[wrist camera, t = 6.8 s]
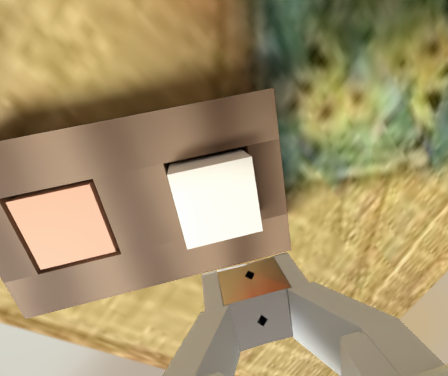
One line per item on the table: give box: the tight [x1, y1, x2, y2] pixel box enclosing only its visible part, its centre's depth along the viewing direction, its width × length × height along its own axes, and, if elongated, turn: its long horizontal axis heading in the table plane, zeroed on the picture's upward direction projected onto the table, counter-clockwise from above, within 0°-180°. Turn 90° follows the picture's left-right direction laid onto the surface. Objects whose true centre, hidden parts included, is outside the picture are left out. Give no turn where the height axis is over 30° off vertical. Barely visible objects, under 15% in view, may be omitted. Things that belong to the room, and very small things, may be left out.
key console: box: [0, 88, 291, 319], centre depth 18 cm, size 20×12×4 cm, turn 101°
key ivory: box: [167, 149, 263, 250], centre depth 16 cm, size 5×5×3 cm
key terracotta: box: [5, 179, 118, 270], centre depth 17 cm, size 5×5×3 cm
